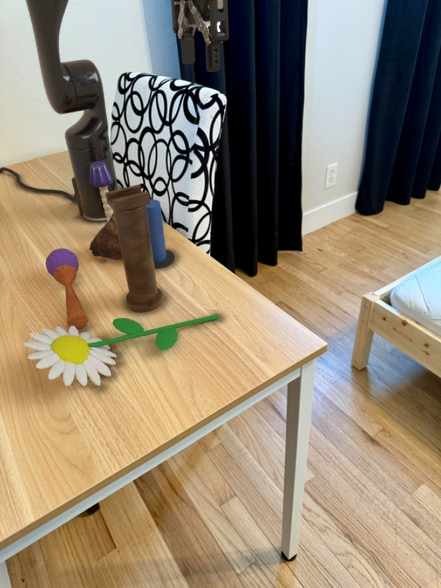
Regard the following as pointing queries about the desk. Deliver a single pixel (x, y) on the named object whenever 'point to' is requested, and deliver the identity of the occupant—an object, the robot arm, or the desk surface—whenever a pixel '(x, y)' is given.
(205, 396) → the desk surface
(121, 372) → the desk surface
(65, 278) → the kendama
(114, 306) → the desk surface
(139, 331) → the decorative flower
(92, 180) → the toy lamp
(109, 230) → the decorative rock
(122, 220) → the post
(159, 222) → the tube
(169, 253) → the coaster
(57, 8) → the robot arm
